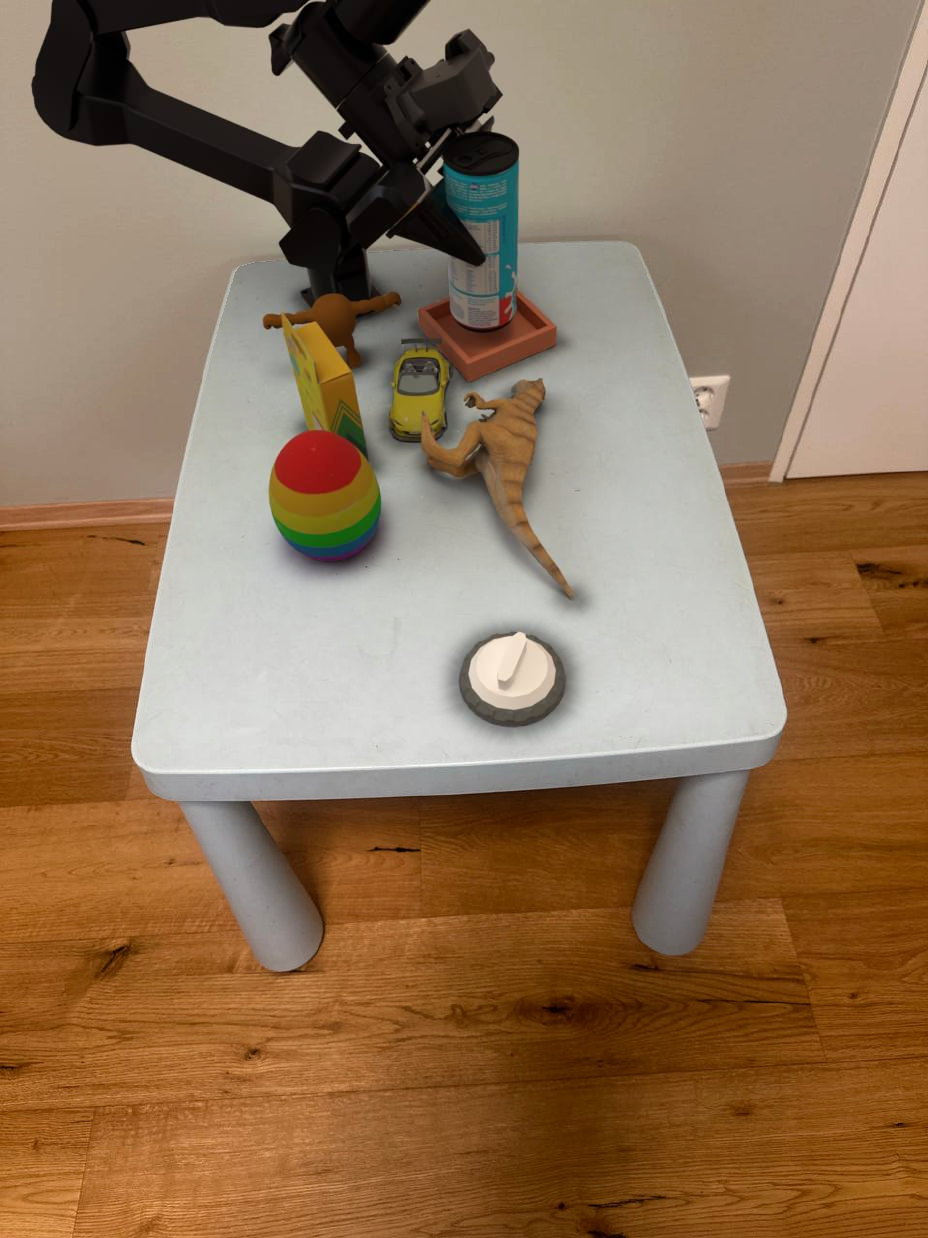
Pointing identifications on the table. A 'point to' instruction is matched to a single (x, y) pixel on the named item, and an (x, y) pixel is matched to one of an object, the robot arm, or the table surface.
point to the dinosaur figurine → (500, 459)
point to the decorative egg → (324, 496)
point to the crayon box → (324, 383)
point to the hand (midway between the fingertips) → (496, 242)
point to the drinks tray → (488, 338)
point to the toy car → (419, 390)
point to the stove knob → (512, 679)
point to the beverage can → (484, 227)
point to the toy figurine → (337, 319)
